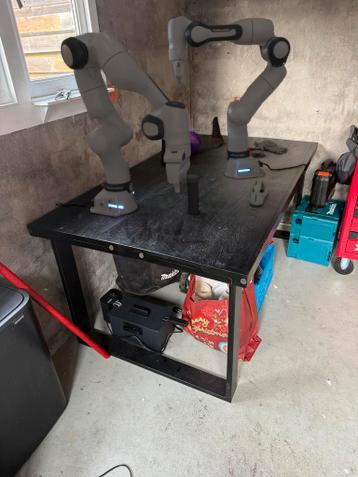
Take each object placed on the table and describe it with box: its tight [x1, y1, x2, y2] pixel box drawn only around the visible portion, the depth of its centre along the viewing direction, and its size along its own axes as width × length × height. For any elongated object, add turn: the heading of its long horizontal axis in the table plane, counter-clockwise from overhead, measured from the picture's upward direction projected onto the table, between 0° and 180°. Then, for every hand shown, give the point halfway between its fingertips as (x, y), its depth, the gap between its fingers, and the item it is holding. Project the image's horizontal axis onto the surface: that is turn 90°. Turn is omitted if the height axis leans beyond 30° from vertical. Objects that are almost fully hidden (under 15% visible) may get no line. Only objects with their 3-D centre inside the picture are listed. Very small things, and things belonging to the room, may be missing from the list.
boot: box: [210, 116, 225, 149], centre depth 246 cm, size 9×24×20 cm, turn 168°
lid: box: [186, 173, 200, 183], centre depth 141 cm, size 6×6×2 cm
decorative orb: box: [189, 130, 202, 154], centre depth 230 cm, size 15×15×15 cm
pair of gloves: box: [247, 139, 289, 158], centre depth 226 cm, size 30×26×5 cm
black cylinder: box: [186, 181, 200, 216], centre depth 145 cm, size 5×5×17 cm
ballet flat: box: [249, 179, 269, 207], centre depth 158 cm, size 8×24×8 cm, turn 163°
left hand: (180, 187), depth 124 cm, fingers open, 8 cm apart
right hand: (179, 86), depth 168 cm, fingers open, 8 cm apart
